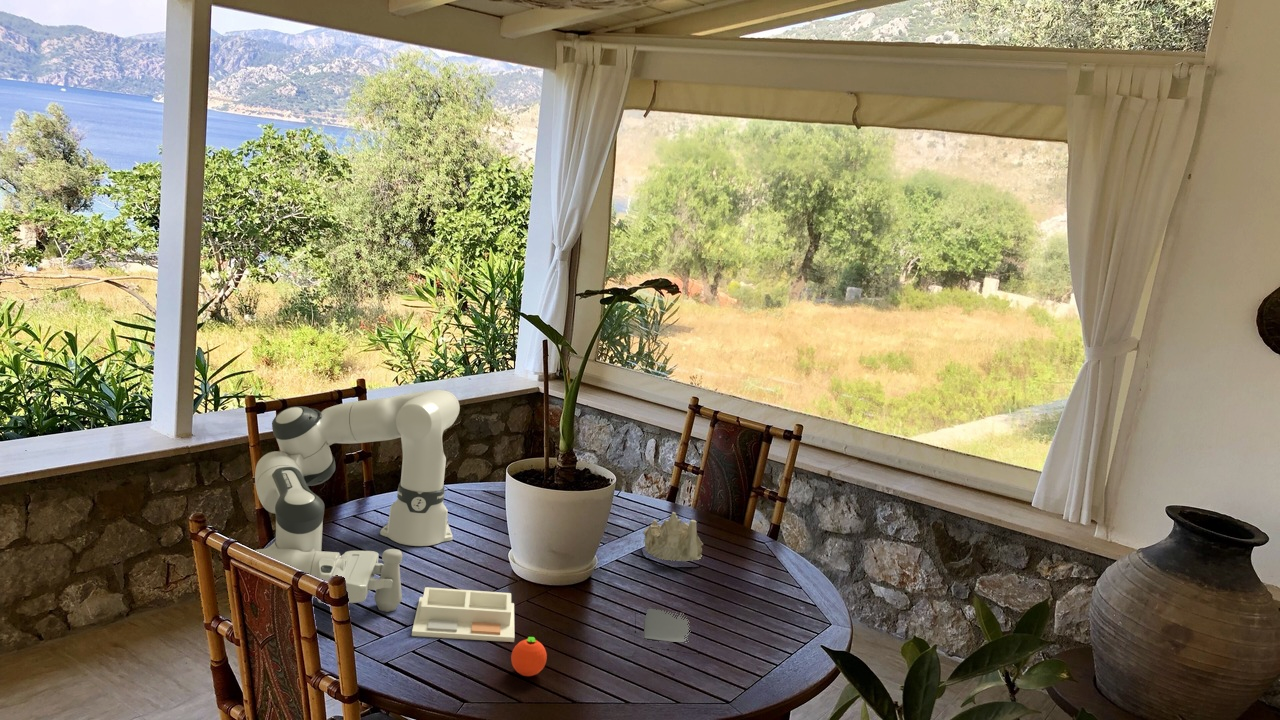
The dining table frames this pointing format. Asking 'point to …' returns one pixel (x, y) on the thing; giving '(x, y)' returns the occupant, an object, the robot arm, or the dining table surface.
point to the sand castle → (673, 540)
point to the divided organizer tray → (465, 615)
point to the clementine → (529, 657)
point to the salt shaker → (392, 596)
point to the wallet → (665, 626)
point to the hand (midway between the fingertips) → (394, 577)
